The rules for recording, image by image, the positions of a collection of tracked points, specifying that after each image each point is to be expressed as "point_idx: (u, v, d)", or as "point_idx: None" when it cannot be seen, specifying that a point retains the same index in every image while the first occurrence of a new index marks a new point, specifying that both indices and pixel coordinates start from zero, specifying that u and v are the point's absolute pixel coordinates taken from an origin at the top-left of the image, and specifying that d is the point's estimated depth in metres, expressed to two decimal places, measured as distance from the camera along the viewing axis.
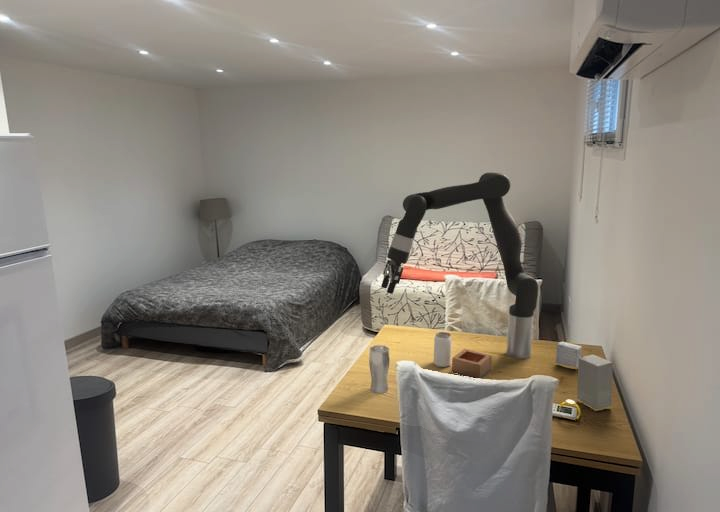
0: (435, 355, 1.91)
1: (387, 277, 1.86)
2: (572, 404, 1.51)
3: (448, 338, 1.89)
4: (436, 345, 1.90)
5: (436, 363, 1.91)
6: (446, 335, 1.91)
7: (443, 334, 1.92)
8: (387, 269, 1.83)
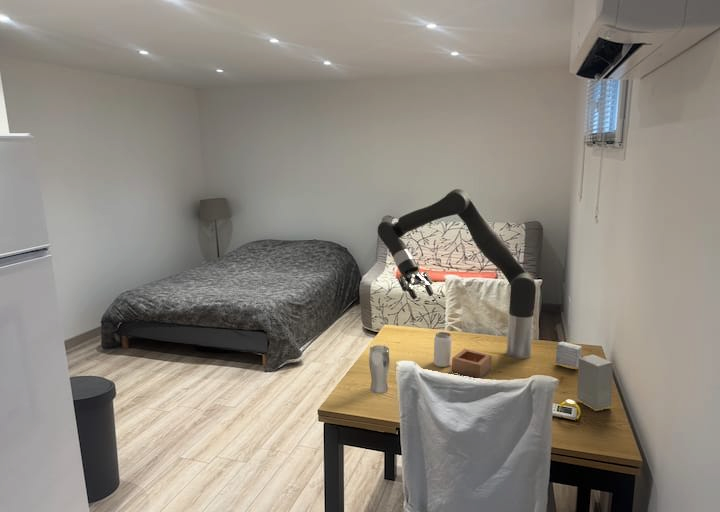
0: (435, 355, 1.91)
1: (426, 286, 2.02)
2: (572, 404, 1.51)
3: (448, 338, 1.89)
4: (436, 345, 1.90)
5: (436, 363, 1.91)
6: (446, 335, 1.91)
7: (443, 334, 1.92)
8: None
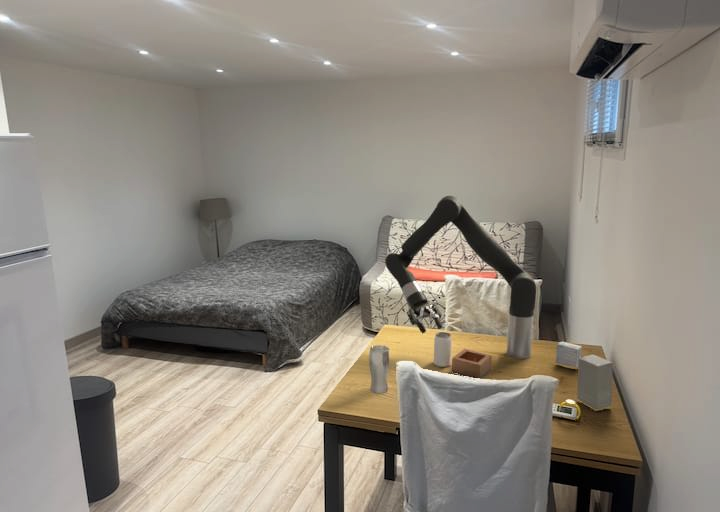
0: (435, 355, 1.91)
1: (435, 319, 2.00)
2: (572, 404, 1.51)
3: (448, 338, 1.89)
4: (436, 345, 1.90)
5: (436, 363, 1.91)
6: (446, 335, 1.91)
7: (443, 334, 1.92)
8: None
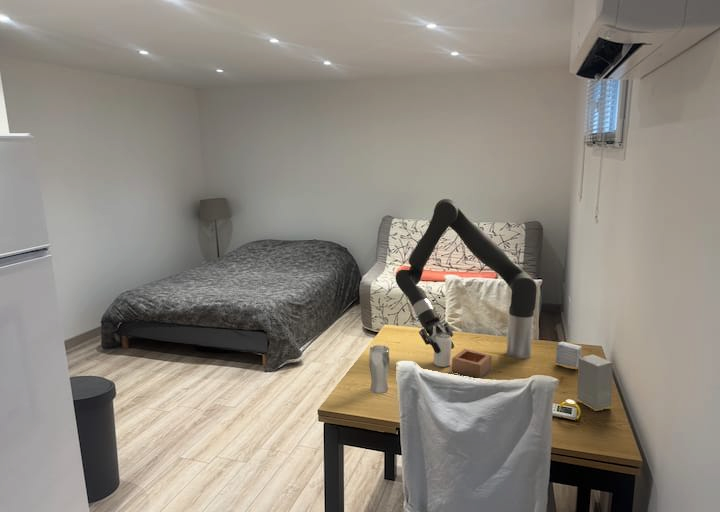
0: (435, 355, 1.91)
1: None
2: (572, 404, 1.51)
3: (448, 338, 1.89)
4: None
5: (436, 363, 1.91)
6: (446, 335, 1.91)
7: (443, 334, 1.92)
8: None
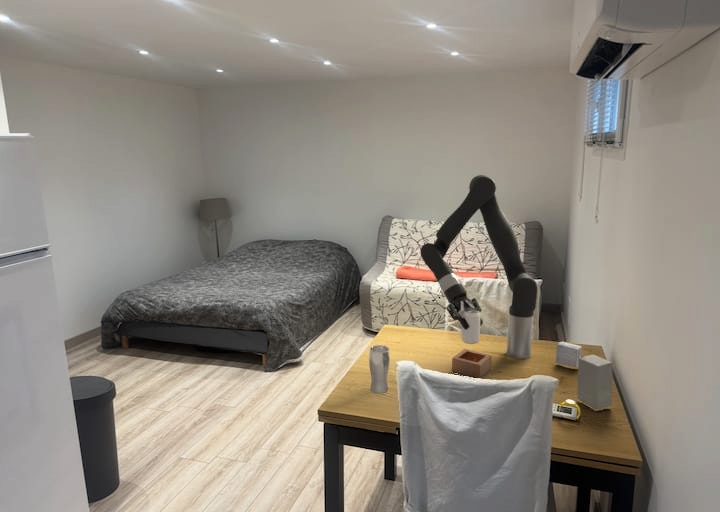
0: (463, 331, 1.83)
1: None
2: (572, 404, 1.51)
3: (477, 313, 1.80)
4: None
5: (464, 340, 1.83)
6: (475, 310, 1.83)
7: (471, 309, 1.84)
8: None
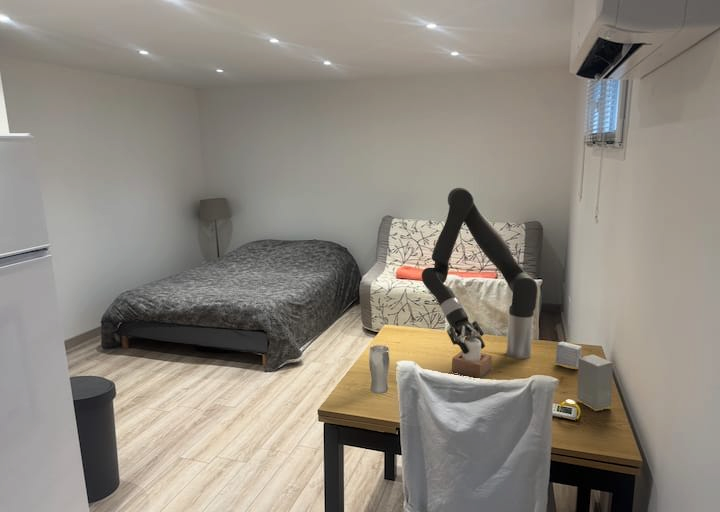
0: None
1: None
2: (572, 404, 1.51)
3: (478, 342, 1.82)
4: None
5: None
6: (475, 339, 1.84)
7: (472, 338, 1.85)
8: None
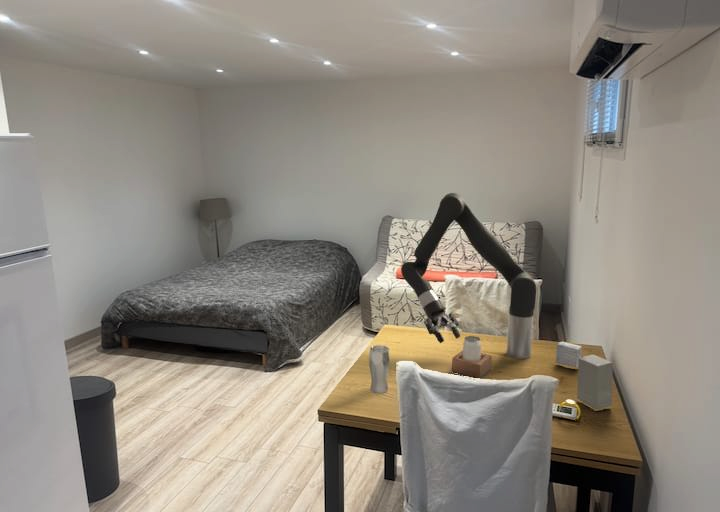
0: None
1: (453, 328, 1.98)
2: (572, 404, 1.51)
3: (478, 342, 1.82)
4: (465, 349, 1.83)
5: None
6: (475, 339, 1.84)
7: (472, 338, 1.85)
8: None
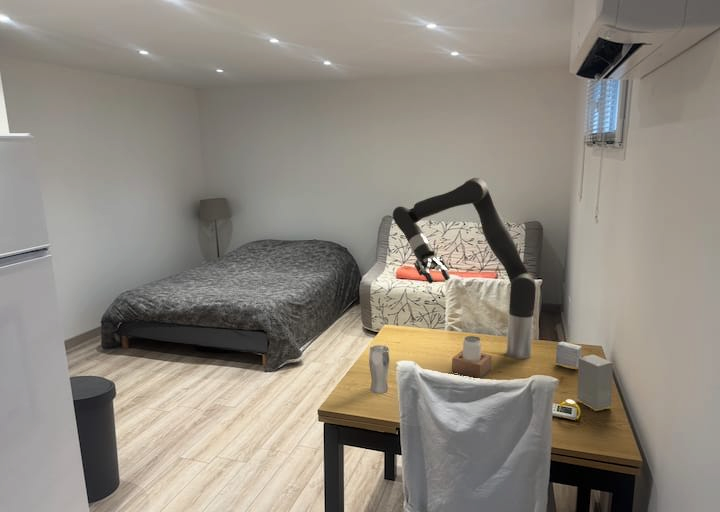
0: None
1: (442, 270, 2.00)
2: (572, 404, 1.51)
3: (478, 342, 1.82)
4: (465, 349, 1.83)
5: None
6: (475, 339, 1.84)
7: (472, 338, 1.85)
8: None
